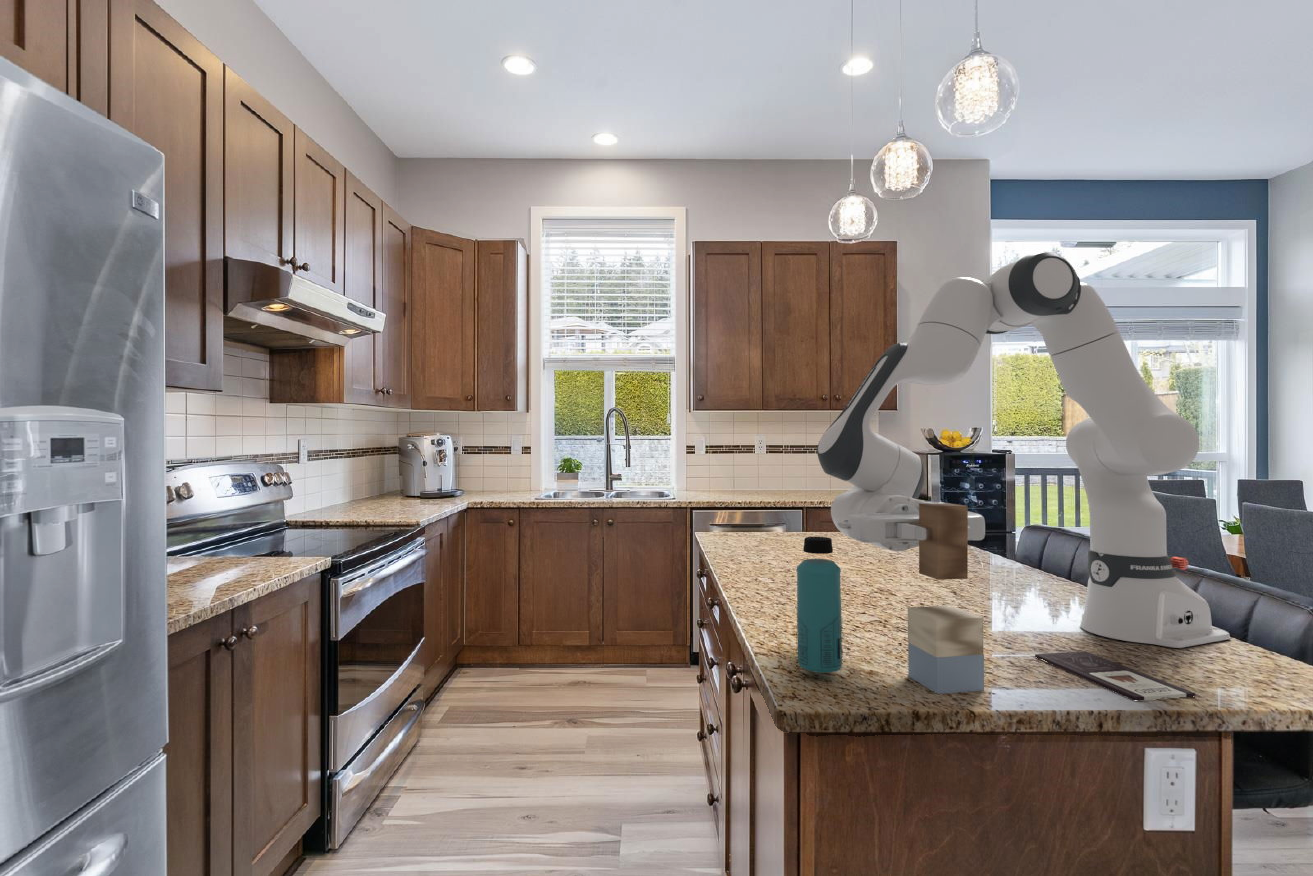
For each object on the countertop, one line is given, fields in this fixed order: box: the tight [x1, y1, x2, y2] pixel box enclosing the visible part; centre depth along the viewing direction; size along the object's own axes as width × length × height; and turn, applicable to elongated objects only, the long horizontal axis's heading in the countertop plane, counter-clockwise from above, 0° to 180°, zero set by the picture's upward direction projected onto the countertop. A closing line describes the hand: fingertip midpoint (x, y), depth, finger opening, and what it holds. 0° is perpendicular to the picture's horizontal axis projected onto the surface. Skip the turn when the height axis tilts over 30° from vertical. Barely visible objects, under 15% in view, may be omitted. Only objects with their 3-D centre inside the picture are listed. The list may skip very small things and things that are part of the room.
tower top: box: [907, 605, 984, 657], centre depth 93 cm, size 7×7×5 cm
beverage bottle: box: [795, 536, 844, 674], centre depth 96 cm, size 6×7×20 cm
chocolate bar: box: [1034, 650, 1196, 701], centre depth 95 cm, size 9×1×18 cm
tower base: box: [907, 642, 985, 695], centre depth 93 cm, size 7×7×5 cm
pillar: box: [918, 502, 969, 581], centre depth 93 cm, size 4×4×10 cm
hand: (947, 533), depth 92 cm, fingers closed on pillar, 4 cm apart
